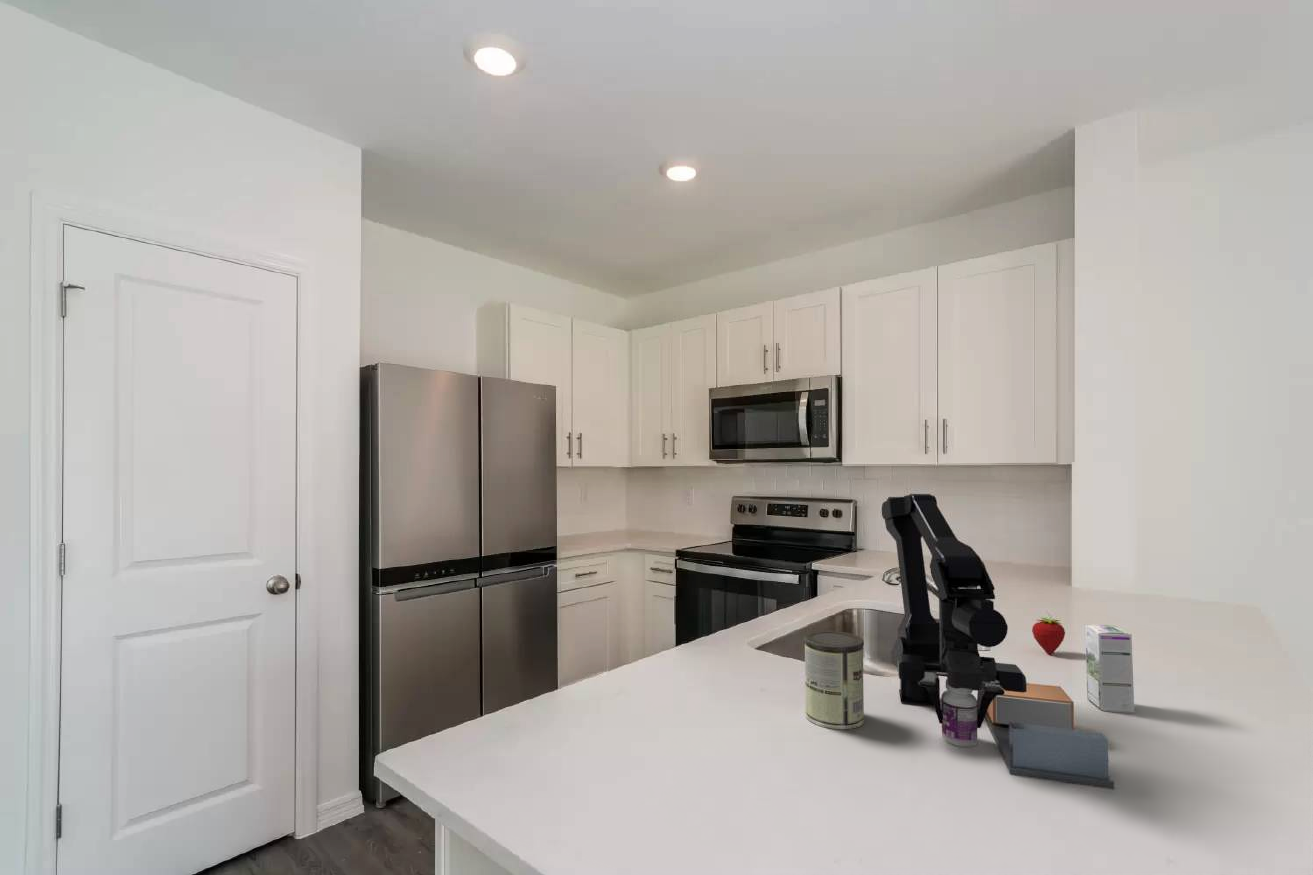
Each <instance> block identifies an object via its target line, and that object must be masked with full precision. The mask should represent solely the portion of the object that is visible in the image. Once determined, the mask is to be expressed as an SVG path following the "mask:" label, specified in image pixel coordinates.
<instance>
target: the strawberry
mask: <svg viewBox="0 0 1313 875" xmlns="http://www.w3.org/2000/svg"><path fill="white" fill-rule="evenodd" d="M1046 613H1047V614H1048V615H1050V614H1049V612H1048V611H1047V610H1046ZM1049 617H1050V618H1047V617H1042V616H1041V617H1040V618H1041V619H1036V620H1035V621H1036V623H1034V624H1033V625H1032V630H1031V632H1032V635H1033V638H1034V640H1035V641H1036V642H1037V644H1038V645H1039V646H1040V647H1041V649H1043V650H1044V652H1045V654H1047V655H1049V656H1050V655H1052V654H1054V652H1055V651H1056V650H1057V649H1058V648H1059V647H1060V646H1061V644H1062V642H1063V641H1064V639H1065V635H1066V631H1065V628H1064V627H1063V626H1062V623H1061V622H1060V621H1061V620H1060V619H1054V618H1053V619H1051V618H1052V616H1049Z"/></svg>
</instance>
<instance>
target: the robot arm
mask: <svg viewBox="0 0 1313 875" xmlns="http://www.w3.org/2000/svg"><path fill="white" fill-rule="evenodd" d="M881 517H882V518H883V520H884V524H885V528H886V530H887V532H888V533H889V535H890V536H891V537H892V539H893V540H895V544H896V551H897V560H898V568H899V578H900V584H901V585H900V586H901V595H902V604H903V611H904V615H903V618H902V620H901V622H900V624H899V626H898V628H897V638H896V640H895V642H894V645H893V646H892V649H891V650H890V656H891V663H892V665H894V666H895V667H896V668H897V672H898V679H899V690H898V693H899V700H900V703H902V704H908V705H909V704H910V705H919V706H927V707H934V710H935V714H936V717H937V720H938V723H939V724H941V725H942V705H941V696H940V695H941V694H940V692H941V691H940V690H941V688H940V687H941V686H940V682H941V681H940V679H941V678H940V677H946V679H947V681H948V685H949V686H950V687H952V688H956V689H959V688H966V689H972V690H973V691H974V692H975V691H976V692H977V696H976V700H977V729H982V725H983V722H984V721H985V719H984V717H985V715H986V712H987V710H988V707H989V705H990V704H991V702H992V700H993V699H994V698H995V697H996V696H997V695H1004V693H1005V692H1004V690H1005V691H1013V692H1023V693H1024V692H1027V688H1026V683H1027V678H1026V676H1025V673H1024V672H1023V671H1022V670H1021V668H1020V667H1018V665H1016V664H1015V663H1014V664H1013V663H1003V662H1002V663H1001V662H996V659H995V657H990V656H980V655H981V654H980V653H979V649H978V648H979V646H981V647H985V648H992V647H997V646H998V645H1000V644H1002V643H1003V641H1004V640H1005V639H1006V638H1007V637H1006V636H1007V635H1008V629H1009V628H1008V623H1007V622H1006V621H1007V620H1006V618H1005V617H1004V615H1002V613H1000V612H999V611H998V610H996V609H994V604H995V602H994V601H993V600H995V599H996V595H995V593H994V592H995V591H994V590H995V589H996V588H995V586H994V584H993V582H992V579H991V577H990V575H989V573H988V571H987V568H986V565H985V563H984V561H982V558H981V557H980V556H979V554H978V553H977V552H976V550H974V549H973V548H972V547H971V546H970V545H968V544H966V543H964V542H961V541H960V540H959V539H958V538H957V536H956V535H955V533H954V531H953V529H952V528H951V526H950V525H949V523H948V522H947V520H946V518H945V516H944V515H943V513H942V511H941V510H940V508H939V507H938V501H937V498H936V496H935V495H932V494H930V493H910V494H909V495H908V494H907V495H904V496H888V498H887V499H886V500H885V501H884V502H882V504H881ZM922 538H923V540H924V541H923V542H924V543H925V544H926V547H927V548H928V550H929V552H930V555H931V559H930V563H929V569H930V576H931V577H932V580H933V582H934V584H935V586H936V588H937V590H936V591H935V595H936V596H937V597H939V600H938V608H939V609H938V611H939V612H938V620H939V621H937V620H936V619H935V618H934V617H933V614H932V612H931V606H930V598H929V597H930V596H929V589H928V581H927V576H926V567H925V560H924V558H925V557H924V552H923V545H922V544H923V543H922ZM1003 689H1004V690H1003Z"/></svg>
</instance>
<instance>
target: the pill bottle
mask: <svg viewBox="0 0 1313 875" xmlns="http://www.w3.org/2000/svg"><path fill="white" fill-rule="evenodd" d="M945 689H946V690H944V691H943V692H942V694H941V696H940V703H941V710H942V724H941V736H942V738H943V739H944V741H945V742H947V743H949V744H951V745H954V746H957V747H965V748H969V747H973V746H975V745H976V744H977V743H978V728H977V697H975V695H974V694H972V693H973V691H974V690H972V689H966V688H959V689H956V688H952V687H950V686H949V685H948V681H947V678H946V679H945Z"/></svg>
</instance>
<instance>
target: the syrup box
mask: <svg viewBox="0 0 1313 875" xmlns="http://www.w3.org/2000/svg"><path fill="white" fill-rule="evenodd" d="M1132 638H1133V637H1132V633H1129V632H1128V631H1126V630H1124V629H1121V628H1120V627H1118V626H1114V625H1108V624H1107V625H1105V624H1090V625H1089V624H1088V625H1087V624H1086V625H1085V652H1086V653H1085V658H1086V690H1087V691H1086V693H1087V694H1086V695H1087V700H1088V701H1089V702H1090V703H1092V704H1093V705H1094V706H1095V707H1096V708H1097V709H1099V710H1100V711H1102V712H1112V713H1113V712H1114V713H1124V714H1135V694H1134V693H1135V692H1134V691H1135V690H1134V688H1135V687H1134V668H1133V667H1134V664H1133V661H1134V660H1133V642H1132V641H1133V639H1132Z"/></svg>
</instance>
